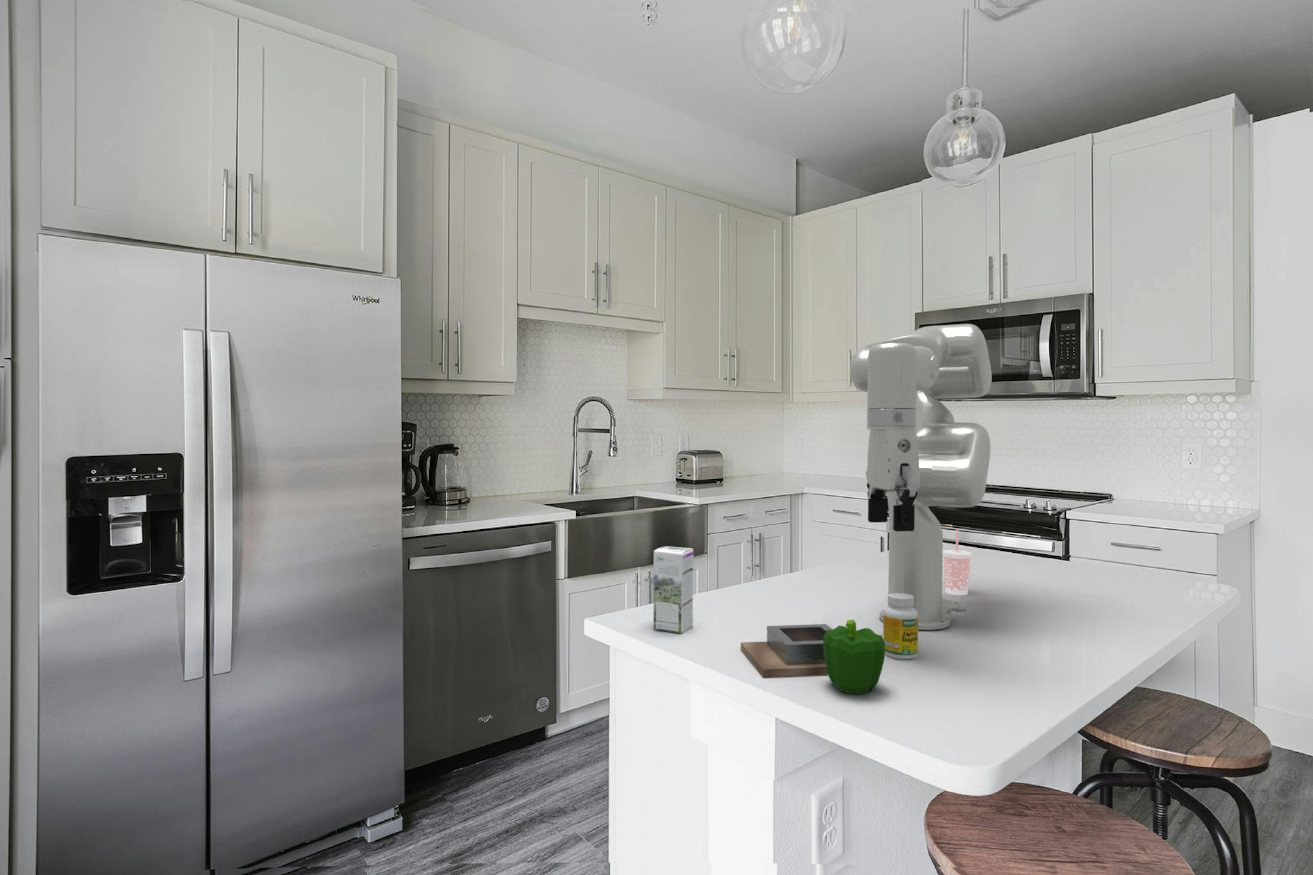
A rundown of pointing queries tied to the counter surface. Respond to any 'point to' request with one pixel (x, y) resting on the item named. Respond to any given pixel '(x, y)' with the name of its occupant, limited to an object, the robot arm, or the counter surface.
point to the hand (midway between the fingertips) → (890, 526)
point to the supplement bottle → (900, 627)
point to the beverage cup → (956, 570)
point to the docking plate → (777, 662)
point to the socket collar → (798, 643)
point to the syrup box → (673, 589)
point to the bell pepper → (853, 657)
